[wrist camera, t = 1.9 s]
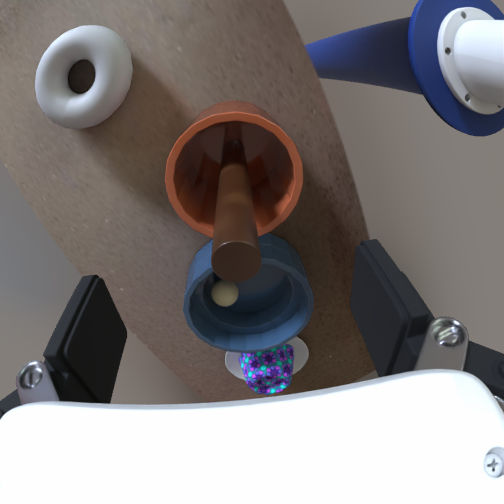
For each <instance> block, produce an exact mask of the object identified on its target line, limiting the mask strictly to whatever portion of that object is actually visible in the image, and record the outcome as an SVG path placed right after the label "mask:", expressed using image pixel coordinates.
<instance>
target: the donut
mask: <svg viewBox="0 0 504 504" xmlns="http://www.w3.org/2000/svg"><path fill="white" fill-rule="evenodd" d="M83 59H86V60H89V61H90V62H91V63H92V64H93V66H94V68H95V73H96V76H95V81H94V83H93V86H92V87H91V88H90V89H89V91H87V92H86V93H83V94H77V93H74V92H73V91H72V90H71V89H70V87H69V84H68V74H69V71H70V69H71V67H72V66H73V65H74V64H75V63H76V62H77V61H79V60H83ZM132 73H133V67H132V59H131V54H130V51H129V49H128V47H127V45H126V43H125V41H124V40H123V39H121V38H120V37H119V36H118V35H117V34H116V33H115V32H114V31H112V30H110V29H107V28H105V27H102V26H99V25H93V26H80V27H77V28H75V29H72V30H70V31H67V32H65V33H64V34H63V35H61V36H60V37H59V38H58V39H56V40H55V41H54V42H53V43H52V44H51V45H50V47H49V48H48V49H47V51H46V52H45V53H44V55H43V56H42V59H41V61H40V64H39V66H38V69H37V72H36V81H35V89H36V96H37V101H38V103H39V105H40V107H41V109H42V111H43V112H44V113H45V114H46V115H47V116H48V117H49V118H50V119H51V120H52V121H53V122H54V123H56V124H58V125H60V126H63V127H65V128H72V129H83V128H87V127H91V126H94V125H97V124H99V123H100V122H102V121H103V120H105V119H107V118H108V117H110V116H111V115H112V114H113V113H114V111H115V110H116V109H117V108H118V107H119V106H120V105H121V104H122V102H123V100H124V98H125V96H126V94H127V92H128V90H129V88H130V84H131V79H132Z"/></svg>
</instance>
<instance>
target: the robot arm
mask: <svg viewBox="0 0 504 504" xmlns="http://www.w3.org/2000/svg"><path fill="white" fill-rule="evenodd" d="M437 53H438V59H439V64H440V68H441V71H442V74H443V77H444V79H445V81H446V83H447V85H448V87H449V89H450V90H451V92H452V94H453V95H454V96H455V97H456V98H457V100H458V101H459V102H460V103H462V104H463V105H464V106H465V107H467V108H468V109H470V110H472V111H475V112H478V113H481V114H494V113H496V112H498V111H500V110H501V109H503V108H504V20H495V19H494V18H492V17H491V16H490V15H488V14H487V13H486V12H484V11H482V10H480V9H476V8H473V7H464V8H457V9H455V10H453V11H451V12H450V13H449V14H448V15H447V16H446V17H445V18H444V20H443V22H442V23H441V26H440V29H439V32H438V40H437ZM350 307H351V311H352V314H353V316H354V318H355V320H356V323H357V325H358V327H359V330H360V332H361V334H362V337H363V339H364V342H365V344H366V346H367V349H368V351H369V354H370V356H371V358H372V361H373V363H374V366H375V368H376V371H377V373H378V376H379V378H376V379H371V380H367V381H362V382H357V383H352V384H347V385H342V386H337V387H331V388H326V389H320V390H315V391H309V392H303V393H296V394H289V395H282V396H275V397H266V398H258V399H249V400H239V401H227V402H213V403H196V404H165V405H130V404H129V405H128V404H110V401H111V397H112V393H113V389H114V385H115V381H116V377H117V372H118V369H119V365H120V361H121V357H122V353H123V350H124V346H125V343H126V339H127V330H126V327H125V325H124V323H123V321H122V319H121V317H120V315H119V313H118V311H117V309H116V306H115V304H114V302H113V300H112V298H111V296H110V293H109V291H108V289H107V287H106V285H105V282H104V280H103V279H102V278H99V276H98V275H89V276H83V277H82V278H81V280H80V282H79V284H78V285H77V287H76V289H75V291H74V293H73V295H72V297H71V299H70V300H69V302H68V304H67V306H66V308H65V310H64V312H63V314H62V316H61V318H60V320H59V322H58V324H57V326H56V328H55V330H54V332H53V334H52V336H51V338H50V341H49V343H48V345H47V347H46V350H45V352H44V354H43V356H44V357H45V361H44V363H43V362H42V361H37V360H36V361H31V362H29V363H27V364H26V365H25V366H23V367H22V369H21V370H20V371H19V373H18V375H17V378H16V387H17V389H16V390H15V391H13V392H12V393H11V394H9V395H8V396H6V397H5V398H4V399H2V400H1V401H0V504H504V354H502V353H500V352H497V351H495V350H492V349H489V348H487V347H484V346H482V345H479V344H476V343H474V342H471V341H469V334H468V331H467V329H466V327H465V326H464V325H463V324H462V323H461V322H459V321H458V320H456V319H454V318H451V317H439V318H436V319H435V318H434V316H433V315H432V313H431V312H430V310H429V309H428V307H427V306H426V304H425V303H424V301H423V300H422V298H421V297H420V295H419V294H418V292H417V291H416V290H415V288H414V287H413V285H412V284H411V282H410V281H409V279H408V278H407V277H406V275H405V274H404V273H403V272H401V271H400V270H399V269H398V267H397V266H396V264H395V263H394V262H393V260H392V259H391V257H390V256H389V255H388V253H387V252H386V251H385V249H384V248H383V247H382V245H381V244H380V243H379V241H378V240H377V239H373V240H366V241H361V243H360V245H358V246H356V250H355V262H354V272H353V282H352V291H351V299H350Z"/></svg>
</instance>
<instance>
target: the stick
mask: <svg viewBox="0 0 504 504" xmlns="http://www.w3.org/2000/svg"><path fill="white" fill-rule="evenodd" d="M261 263H262V258H261V252H260V245H259V239H258V232H257V225H256V219H255V212H254V206H253V199H252V193H251V187H250V180H249V174H248V167H247V161H246V155H245V148H244V145H243V144H242V143H241V142H240V141H238V140H230V141H228V142H226V143H225V144H224V146H223V150H222V159H221V167H220V176H219V185H218V194H217V203H216V213H215V223H214V233H213V244H212V255H211V266H212V269H213V271H214V272H215V273H216V275H217V276H219V277H220V278H221V279H223V280H225V281H228V282H235V283H238V282H244V281H247V280H249V279H251V278H252V277H254V276H255V275H256V274H257V273H258V271H259V270H260V267H261Z"/></svg>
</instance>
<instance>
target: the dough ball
mask: <svg viewBox="0 0 504 504" xmlns="http://www.w3.org/2000/svg"><path fill="white" fill-rule="evenodd" d="M211 296H212V299H213V300H214V302H215V303H216V304H218V305H220V306H230V305H232V304H233V303H234V302H235V301H236V300H237V298H238V288H237V286H236V284H235V283H234V282H228V281H225V280H223V279H222V280H219V281H217V282H216V283H215V284H214V285H213V287H212V290H211Z"/></svg>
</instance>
